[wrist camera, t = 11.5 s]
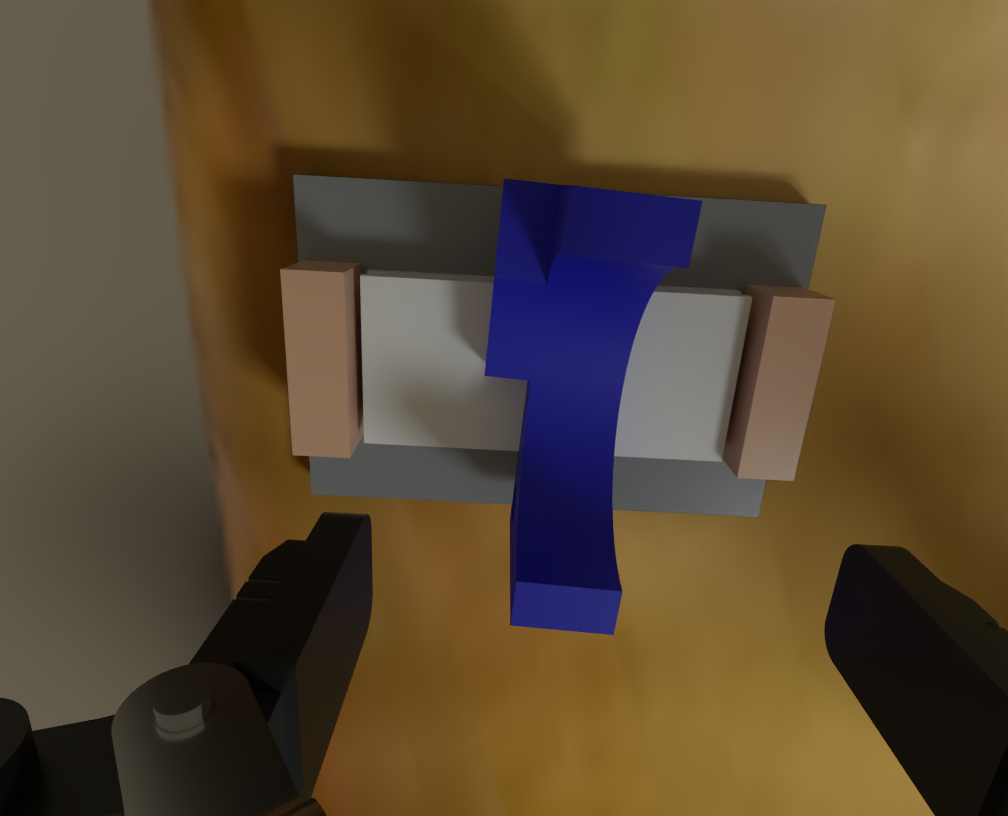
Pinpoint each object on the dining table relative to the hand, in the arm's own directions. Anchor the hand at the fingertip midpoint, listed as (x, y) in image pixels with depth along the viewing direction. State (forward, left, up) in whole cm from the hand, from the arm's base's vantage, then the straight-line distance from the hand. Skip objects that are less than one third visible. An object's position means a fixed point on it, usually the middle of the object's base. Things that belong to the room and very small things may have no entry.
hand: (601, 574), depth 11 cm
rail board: (0, 0, -15) cm, 15 cm away
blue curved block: (0, 0, -12) cm, 12 cm away
